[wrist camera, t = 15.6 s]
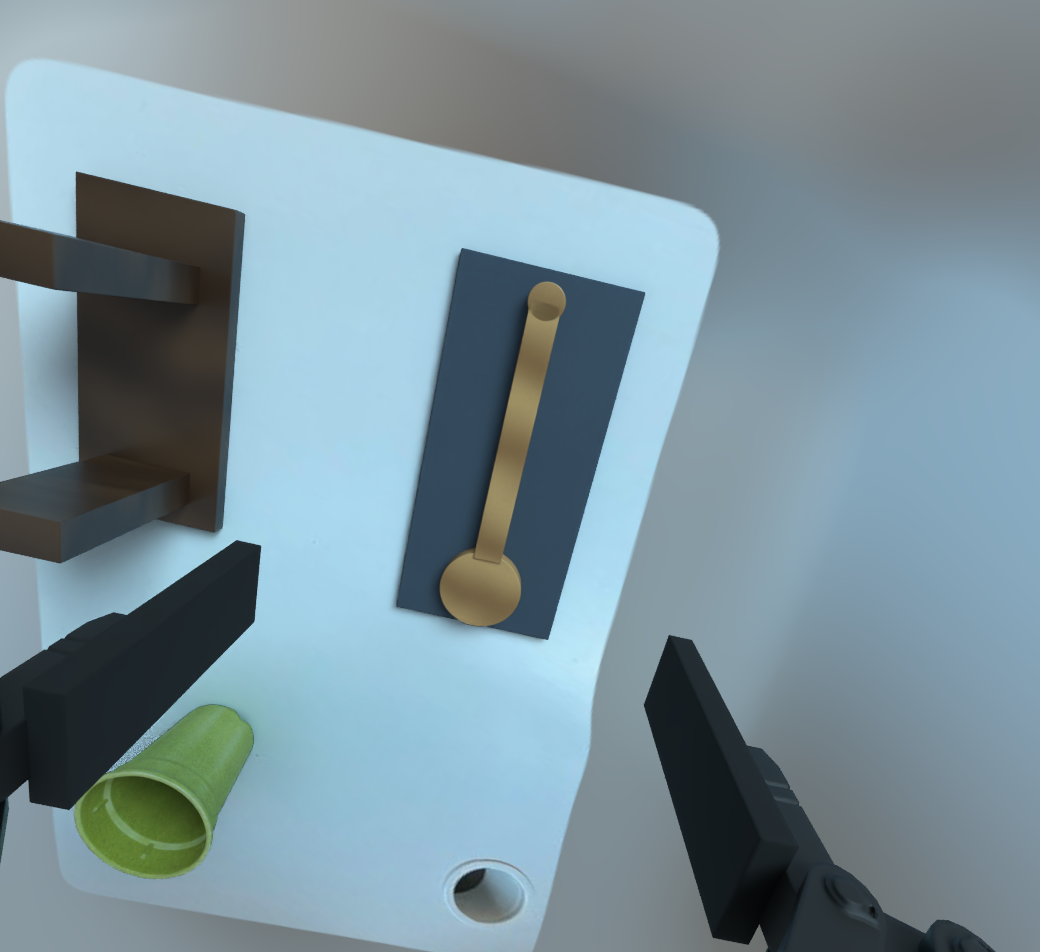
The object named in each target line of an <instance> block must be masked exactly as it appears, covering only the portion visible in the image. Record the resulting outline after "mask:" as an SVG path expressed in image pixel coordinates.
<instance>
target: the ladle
mask: <svg viewBox="0 0 1040 952" xmlns="http://www.w3.org/2000/svg"><path fill="white" fill-rule="evenodd" d="M527 304H528V309H529V310H528V314H527V319H526V323H525V328H524V332H523V337H522V341H521V346H520V350H519V355H518V359H517V364H516V368H515V373H514V377H513V382H512V386H511V391H510V395H509V400H508V404H507V409H506V413H505V418H504V422H503V427H502V431H501V436H500V440H499V445H498V449H497V454H496V458H495V463H494V467H493V472H492V476H491V481H490V485H489V490H488V494H487V499H486V503H485V508H484V512H483V517H482V521H481V526H480V530H479V535H478V539H477V544H476V548H472V549H468V550H465V551H462V552H460V553H459V554H457V555H456V556H454V557H453V558H452V559H451V560H450V561H449V563H448V564H447V566H446V567H445V569H444V572H443V574H442V577H441V580H440V596H441V599H442V601H443V604H444V605H445V607H446V609H447V610H448V611H449V612H450V613H451V614H452V615H453V616H454V617H455V618H457V619H458V620H460V621H462V622H464V623H466V624H469V625H474V626H490V625H494V624H497V623H499V622H502V621H503V620H505V619H506V618H508V617H509V616H510V615H511V614H512V613H513V612H514V610H515V609H516V607H517V605H518V603H519V600H520V596H521V578H520V574H519V572H518V570H517V568H516V566H515V565H514V563H513V562H512V561H511V560H510V559H509V558H508V557H506V556H505V555H504V554H503V552H504V547H505V543H506V539H507V535H508V531H509V526H510V522H511V518H512V514H513V510H514V506H515V501H516V497H517V493H518V489H519V485H520V481H521V476H522V472H523V468H524V464H525V460H526V455H527V451H528V447H529V443H530V439H531V435H532V430H533V426H534V422H535V418H536V414H537V409H538V405H539V401H540V397H541V393H542V389H543V384H544V380H545V376H546V372H547V368H548V364H549V359H550V355H551V351H552V347H553V343H554V338H555V334H556V330H557V326H558V322H559V318H560V316H561V315H562V313H563V312H564V310H565V306H566V297H565V294H564V292H563V290H562V289H561V288H560V287H559V286H558V285H557V284H555V283H552V282H542V283H539V284H537V285H536V286H534V287H533V288H532V290H531V291H530V293H529V296H528V300H527Z"/></svg>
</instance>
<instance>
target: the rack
mask: <svg viewBox="0 0 1040 952" xmlns="http://www.w3.org/2000/svg"><path fill="white" fill-rule="evenodd" d="M244 222H245V214H244V213H242V212H239V211H237V210H234V209H230V208H225V207H221V206H217V205H213V204H209V203H205V202H201V201H196V200H192V199H188V198H184V197H180V196H176V195H172V194H167V193H163V192H159V191H155V190H151V189H147V188H143V187H139V186H134V185H130V184H126V183H122V182H118V181H114V180H110V179H105V178H101V177H97V176H93V175H89V174H85V173H81V172H76V237H72V236H68V235H63V234H59V233H54V232H50V231H46V230H41V229H37V228H32V227H28V226H24V225H19V224H15V223H10V222H6V221H2V220H0V277H3V278H7V279H11V280H15V281H19V282H24V283H28V284H32V285H37V286H41V287H45V288H49V289H54V290H62V291H71V292H77V328H78V415H79V462H75V463H71V464H67V465H64V466H60V467H56V468H52V469H48V470H44V471H41V472H37V473H33V474H29V475H25V476H22V477H18V478H14V479H10V480H6V481H2V482H0V550H2V551H6V552H11V553H15V554H20V555H24V556H29V557H33V558H38V559H43V560H47V561H52V562H56V563H62V562H65V561H67V560H69V559H71V558H73V557H75V556H78V555H80V554H82V553H84V552H86V551H88V550H90V549H93V548H95V547H97V546H99V545H101V544H103V543H105V542H108V541H110V540H112V539H114V538H116V537H118V536H121V535H123V534H125V533H127V532H129V531H131V530H133V529H136V528H138V527H140V526H142V525H144V524H146V523H149V522H151V521H153V520H155V519H157V520H162V521H166V522H171V523H175V524H180V525H184V526H188V527H193V528H197V529H202V530H206V531H211V532H216V531H218V530H219V529H221V528H222V527H223V514H224V500H225V487H226V473H227V459H228V445H229V431H230V417H231V403H232V389H233V375H234V361H235V347H236V334H237V320H238V306H239V292H240V278H241V264H242V250H243V236H244Z"/></svg>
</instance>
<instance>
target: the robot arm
mask: <svg viewBox="0 0 1040 952" xmlns="http://www.w3.org/2000/svg"><path fill="white" fill-rule="evenodd" d="M260 553H261V546H260V545H256V544H251V543H247V542H242V541H238V540H236V541H235V542H233V543H232V544H230V545H229V546H228V547H226V548H225V549H223V550H222V551H220V552H219V553H217V554H216V555H214V556H213V557H211V558H210V559H208V560H207V561H206V562H204V563H203V564H201V565H200V566H198V567H197V568H195V569H194V570H192V571H191V572H189V573H188V574H187V575H185V576H184V577H182V578H181V579H179V580H178V581H176V582H175V583H173V584H172V585H170V586H169V587H168V588H166V589H165V590H163V591H162V592H160V593H159V594H157V595H156V596H154V597H153V598H151V599H150V600H148V601H147V602H146V603H144V604H143V605H141V606H140V607H138V608H137V609H135V610H134V611H132V612H131V613H129V614H128V615H124V614H119V613H114V612H113V613H111V614H108V615H105V616H103V617H100V618H97V619H94V620H92V621H89V622H87V623H85V624H84V625H82V626H80V627H79V628H77V629H76V630H74V631H73V632H71V633H70V634H68V635H66V637H65V639H63V638H62V639H60V640H59V641H57V642H55V643H54V644H52V645H51V646H49V648H48V649H47V650H43V651H42V652H40V653H38V654H37V655H35V656H33V657H32V658H30V659H29V660H27V661H26V662H24V663H23V664H21V665H19V666H18V667H16V668H15V669H13V670H12V671H10V672H9V673H7V674H5V675H4V676H2V677H1V678H0V862H1V855H2V849H3V843H4V836H5V830H6V823H7V817H8V811H9V807H8V797H9V796H10V795H11V794H12V793H13V792H14V791H15V790H17V789H18V788H19V787H20V786H21V785H22V784H23V783H24V782H26V781H27V780H28V781H29V798H30V802H31V803H36V804H42V805H47V806H52V807H57V808H62V809H67V810H70V809H71V808H72V807H73V806H74V805H75V804H76V803H77V802H78V800H79V799H80V798H81V797H82V796H83V795H84V794H85V793H86V792H87V791H88V790H89V789H90V788H91V787H92V786H93V785H94V784H95V783H96V782H97V781H98V780H99V779H100V778H101V777H102V776H103V775H104V774H105V773H106V772H107V771H108V770H109V769H110V768H111V767H112V766H113V765H114V764H115V763H116V762H117V761H118V760H119V759H120V758H121V757H122V756H123V755H124V754H125V753H126V752H127V751H128V750H129V749H130V748H131V747H132V746H133V745H134V744H135V743H136V742H137V741H138V739H139V738H140V737H141V736H142V735H143V734H144V733H145V732H146V731H147V730H148V729H149V728H150V727H151V726H152V725H153V724H154V723H155V722H156V721H157V720H158V719H159V718H160V717H161V716H162V715H163V714H164V713H165V712H166V711H167V710H168V709H169V708H170V707H171V706H172V705H173V704H174V703H175V702H176V701H177V700H178V699H179V698H180V697H181V696H182V695H183V694H184V693H185V692H186V691H187V690H188V689H189V688H190V687H191V686H192V685H193V684H194V683H195V682H196V681H197V680H198V678H199V677H200V676H201V675H202V674H203V673H204V672H205V671H206V670H207V669H208V668H209V667H210V666H211V665H212V664H213V663H214V662H215V661H216V660H217V659H218V658H219V657H220V656H221V655H222V654H223V653H224V652H225V651H226V650H227V649H228V648H229V647H230V646H231V645H232V644H233V643H234V642H235V641H236V640H237V639H238V638H239V637H240V636H241V635H242V634H243V633H244V632H245V631H246V630H247V629H248V628H249V627H250V626H251V625H252V624H253V623H254V620H255V609H256V598H257V586H258V575H259V564H260ZM644 707H645V711H646V714H647V717H648V721H649V724H650V727H651V731H652V734H653V738H654V741H655V744H656V748H657V751H658V754H659V758H660V761H661V765H662V768H663V771H664V774H665V778H666V781H667V785H668V788H669V791H670V795H671V798H672V802H673V805H674V808H675V812H676V815H677V818H678V822H679V825H680V829H681V832H682V835H683V839H684V842H685V845H686V849H687V852H688V855H689V859H690V862H691V866H692V869H693V873H694V876H695V879H696V883H697V886H698V889H699V893H700V896H701V899H702V903H703V906H704V910H705V913H706V916H707V920H708V923H709V927H710V930H711V933H712V937H713V938H717V939H722V940H727V941H732V942H737V943H742V944H747V945H748V944H749V943H750V941H751V939H752V937H753V935H754V933H755V931H756V929H757V928H758V925H759V924H760V927H761V929H762V932H763V935H764V937H765V940H766V942H767V945H768V948H767V950H766V952H995V951H994V950H993V949H992V948H991V947H990V946H988V945H987V944H986V943H985V942H984V941H983V940H982V939H981V938H979V937H978V936H976V935H975V934H973V933H972V932H970V931H969V930H968V929H966V928H965V927H963V926H960V925H958V924H955V923H953V922H951V921H949V920H937V921H936V922H934V923H933V924H932V925H931V927H930V928H929V930H928V931H927V933H926V934H925V933H923V932H921V931H919V930H917V929H915V928H913V927H911V926H909V925H907V924H905V923H903V922H901V921H899V920H897V919H895V918H893V917H891V916H889V915H887V914H886V913H884V912H883V911H882V909H881V907H880V906H879V904H878V902H877V900H876V899H875V898H874V896H873V895H872V894H871V893H870V891H869V890H868V889H867V888H866V887H865V886H864V885H863V884H862V883H861V882H860V881H859V880H857V879H856V878H855V877H854V876H853V875H852V874H850V873H849V872H847V871H845V870H843V869H842V868H840V867H839V866H837V865H834V863H833V861H832V860H831V858H830V856H829V854H828V853H827V851H826V849H825V847H824V846H823V844H822V842H821V840H820V838H819V837H818V835H817V833H816V831H815V830H814V828H813V826H812V825H811V823H810V821H809V819H808V817H807V815H806V814H805V812H804V810H803V808H802V807H801V806H799V801H798V800H797V798H796V796H795V794H794V793H793V791H792V790H790V786H789V784H788V782H787V780H786V779H785V777H784V775H783V773H782V771H781V770H780V768H779V767H778V765H777V764H776V763H775V762H774V761H773V760H772V759H771V758H770V757H769V756H768V755H767V754H766V753H765V752H764V751H763V749H761V748H756V747H751V746H747V745H746V743H745V741H744V739H743V737H742V736H741V733H740V732H739V730H738V728H737V726H736V724H735V722H734V720H733V718H732V716H731V714H730V712H729V710H728V709H727V707H726V705H725V703H724V701H723V699H722V697H721V695H720V693H719V691H718V689H717V687H716V685H715V683H714V681H713V680H712V678H711V676H710V674H709V672H708V670H707V668H706V666H705V664H704V662H703V660H702V658H701V656H700V654H699V653H698V651H697V649H696V647H695V645H694V643H693V641H692V640H689V639H684V638H680V637H675V636H671V635H669V636H668V639H667V642H666V645H665V648H664V650H663V653H662V656H661V659H660V662H659V664H658V667H657V670H656V673H655V676H654V678H653V681H652V684H651V687H650V689H649V692H648V695H647V698H646V701H645V704H644Z"/></svg>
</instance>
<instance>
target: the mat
mask: <svg viewBox="0 0 1040 952" xmlns="http://www.w3.org/2000/svg"><path fill="white" fill-rule="evenodd" d="M542 282H552V283H555V284H557V285H558V286H559V287H560V288H561V289H562V290H563V292H564V294H565V297H566V306H565V310H564V312H563V313H562V315H561V316H560V318H559V322H558V326H557V330H556V334H555V338H554V343H553V347H552V351H551V355H550V359H549V364H548V368H547V372H546V376H545V380H544V384H543V389H542V393H541V397H540V401H539V405H538V409H537V414H536V418H535V422H534V426H533V430H532V435H531V439H530V443H529V447H528V451H527V455H526V460H525V464H524V468H523V472H522V476H521V481H520V485H519V489H518V493H517V497H516V501H515V506H514V510H513V514H512V518H511V522H510V526H509V531H508V535H507V539H506V543H505V547H504V552H503V554H504V555H505V556H506V557H508V558H509V559H510V560H511V561H512V562H513V563H514V565H515V566H516V568H517V570H518V572H519V574H520V578H521V596H520V600H519V603H518V605H517V607H516V609H515V610H514V612H513V613H512V614H511V615H510V616H509V617H508V618H506V619H505V620H503V621H502V622H499V623H497V624H494V625H490V626H488V627H492V628H497V629H501V630H506V631H510V632H515V633H519V634H524V635H528V636H533V637H537V638H542V639H546V640H548V638H549V635H550V631H551V628H552V624H553V621H554V617H555V614H556V610H557V606H558V603H559V599H560V596H561V592H562V589H563V585H564V581H565V578H566V574H567V571H568V567H569V564H570V560H571V556H572V553H573V549H574V546H575V542H576V539H577V535H578V531H579V528H580V524H581V521H582V517H583V514H584V510H585V507H586V503H587V499H588V496H589V492H590V489H591V485H592V482H593V478H594V474H595V471H596V467H597V464H598V460H599V457H600V453H601V449H602V446H603V442H604V439H605V435H606V432H607V428H608V424H609V421H610V417H611V414H612V410H613V407H614V403H615V400H616V396H617V392H618V389H619V385H620V382H621V378H622V375H623V371H624V367H625V364H626V360H627V357H628V353H629V350H630V346H631V342H632V339H633V335H634V332H635V328H636V325H637V321H638V317H639V314H640V310H641V307H642V303H643V300H644V296H645V292H641V291H637V290H633V289H629V288H625V287H620V286H616V285H612V284H608V283H604V282H600V281H596V280H592V279H587V278H583V277H579V276H575V275H571V274H567V273H563V272H559V271H555V270H550V269H546V268H542V267H538V266H534V265H530V264H526V263H522V262H517V261H513V260H509V259H505V258H501V257H497V256H493V255H489V254H484V253H480V252H476V251H472V250H468V249H464V248H462V249H461V254H460V259H459V265H458V270H457V276H456V281H455V287H454V292H453V298H452V303H451V309H450V314H449V320H448V325H447V331H446V336H445V342H444V347H443V353H442V358H441V364H440V369H439V375H438V380H437V386H436V391H435V397H434V402H433V408H432V413H431V419H430V424H429V430H428V435H427V441H426V446H425V452H424V457H423V463H422V468H421V474H420V479H419V485H418V490H417V496H416V501H415V507H414V512H413V518H412V523H411V529H410V534H409V540H408V545H407V551H406V556H405V562H404V567H403V573H402V578H401V584H400V589H399V595H398V600H397V607H402V608H406V609H411V610H415V611H420V612H424V613H429V614H433V615H438V616H442V617H447V618H451V619H456V620H458V619H457V618H455V617H454V616H453V615H452V614H451V613H450V612H449V611H448V610H447V609H446V607H445V605H444V604H443V601H442V599H441V596H440V580H441V577H442V574H443V572H444V569H445V567H446V566H447V564H448V563H449V561H450V560H451V559H452V558H453V557H454V556H456V555H457V554H459V553H460V552H462V551H465V550H468V549H472V548H476V544H477V539H478V535H479V530H480V526H481V521H482V517H483V512H484V508H485V503H486V499H487V494H488V490H489V485H490V481H491V476H492V472H493V467H494V463H495V458H496V454H497V449H498V445H499V440H500V436H501V431H502V427H503V422H504V418H505V413H506V409H507V404H508V400H509V395H510V391H511V386H512V382H513V377H514V373H515V368H516V364H517V359H518V355H519V350H520V346H521V341H522V337H523V332H524V328H525V323H526V319H527V314H528V310H529V309H528V304H527V300H528V296H529V293H530V291H531V290H532V288H533V287H534V286H536V285H537V284H539V283H542Z"/></svg>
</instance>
